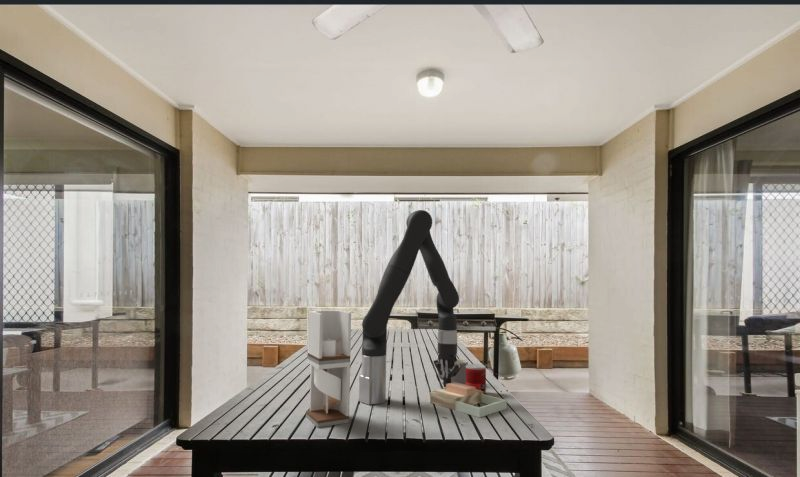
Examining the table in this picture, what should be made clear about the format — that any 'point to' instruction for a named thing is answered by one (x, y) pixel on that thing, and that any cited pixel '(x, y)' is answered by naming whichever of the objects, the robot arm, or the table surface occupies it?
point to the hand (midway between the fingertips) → (447, 387)
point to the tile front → (465, 390)
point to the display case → (329, 367)
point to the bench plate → (453, 398)
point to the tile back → (452, 386)
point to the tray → (493, 406)
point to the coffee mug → (459, 373)
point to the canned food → (476, 376)
